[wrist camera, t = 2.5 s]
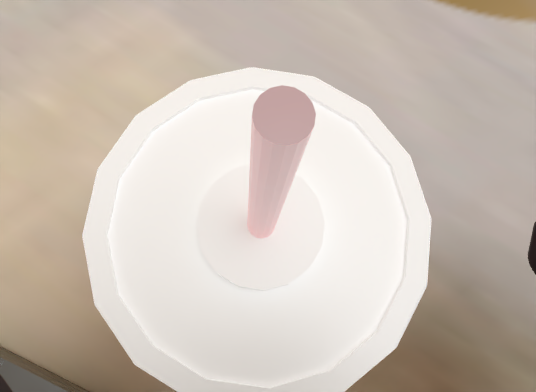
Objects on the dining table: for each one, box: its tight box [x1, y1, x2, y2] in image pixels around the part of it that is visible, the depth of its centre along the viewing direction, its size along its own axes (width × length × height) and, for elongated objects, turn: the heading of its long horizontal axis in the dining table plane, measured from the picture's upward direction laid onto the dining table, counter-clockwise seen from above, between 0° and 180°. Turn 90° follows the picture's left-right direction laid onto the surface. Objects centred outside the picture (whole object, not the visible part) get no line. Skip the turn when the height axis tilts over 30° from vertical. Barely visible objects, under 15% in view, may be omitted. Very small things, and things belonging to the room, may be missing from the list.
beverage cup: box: [82, 67, 431, 392], centre depth 10 cm, size 6×6×14 cm
